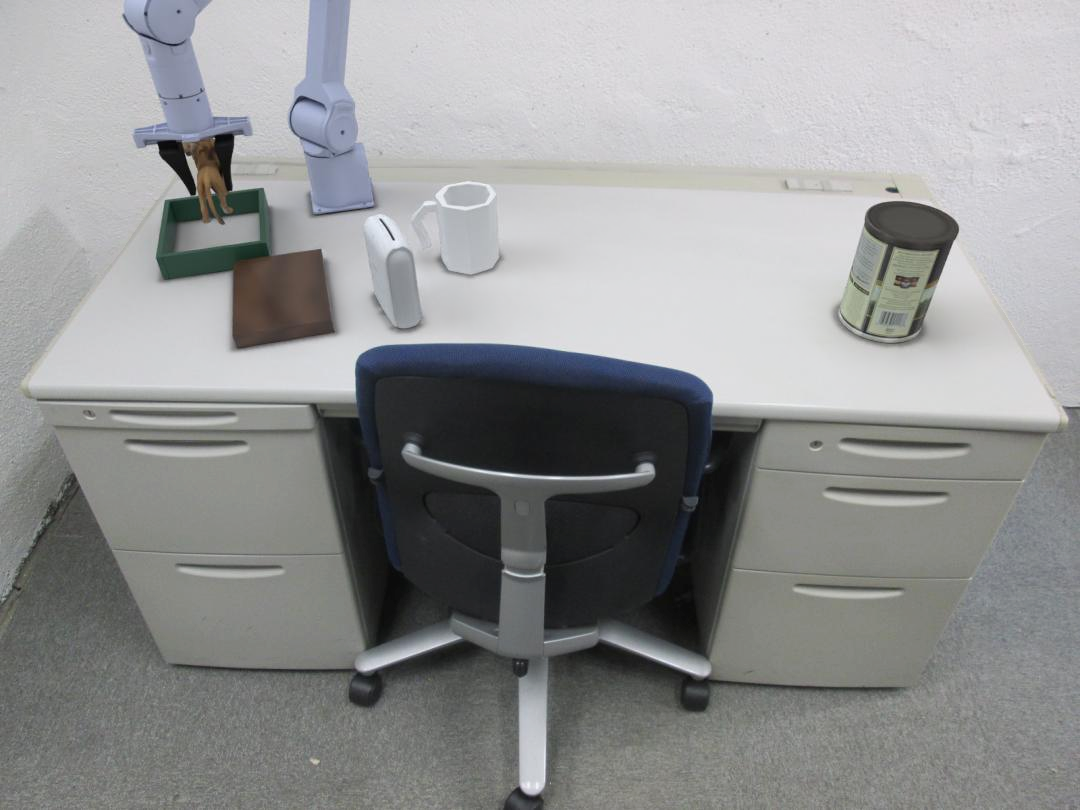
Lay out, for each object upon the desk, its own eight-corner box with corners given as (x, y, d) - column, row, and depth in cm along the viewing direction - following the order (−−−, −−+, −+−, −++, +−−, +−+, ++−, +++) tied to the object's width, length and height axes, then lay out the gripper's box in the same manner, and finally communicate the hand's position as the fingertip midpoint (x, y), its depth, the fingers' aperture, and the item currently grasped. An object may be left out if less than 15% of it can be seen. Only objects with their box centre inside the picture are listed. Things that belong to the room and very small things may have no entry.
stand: (323, 260, 113) (321, 248, 111) (334, 332, 100) (331, 319, 98) (237, 273, 110) (233, 261, 109) (236, 348, 97) (232, 335, 96)
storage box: (268, 207, 125) (263, 187, 123) (272, 263, 112) (266, 242, 110) (171, 220, 122) (164, 199, 120) (163, 279, 109) (155, 257, 107)
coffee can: (888, 291, 106) (922, 194, 97) (938, 335, 98) (979, 235, 89) (821, 304, 104) (848, 206, 94) (866, 350, 96) (901, 248, 87)
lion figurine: (187, 186, 115) (173, 125, 109) (225, 182, 117) (214, 121, 111) (205, 231, 105) (191, 166, 99) (246, 225, 107) (235, 161, 101)
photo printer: (370, 293, 106) (356, 209, 98) (401, 285, 108) (389, 202, 100) (394, 333, 99) (380, 247, 91) (426, 324, 101) (415, 239, 93)
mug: (499, 242, 116) (496, 180, 110) (499, 274, 110) (496, 209, 103) (417, 244, 116) (410, 182, 109) (413, 276, 110) (404, 212, 103)
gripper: (116, 108, 96) (153, 210, 105) (240, 96, 98) (266, 196, 107) (123, 88, 101) (158, 187, 110) (240, 77, 104) (265, 174, 113)
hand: (211, 190), depth 109 cm, fingers closed on lion figurine, 4 cm apart
